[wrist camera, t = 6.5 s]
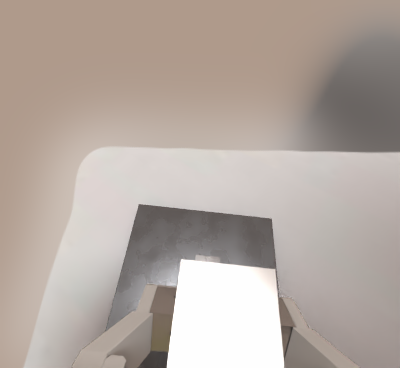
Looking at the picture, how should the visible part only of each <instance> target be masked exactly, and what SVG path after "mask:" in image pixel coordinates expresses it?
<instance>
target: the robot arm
mask: <svg viewBox="0 0 400 368" xmlns="http://www.w3.org/2000/svg"><path fill="white" fill-rule="evenodd" d="M176 294H177V287H173V286H165V285H156V284H148V283H147V285H146V286H145V289H144V291H143V294H142V297H141V299H140V302H139V304H138V307H137V310H136V311H132V312H131V313H129V314H128V315H127V316H125V317H124V318H123V319H121V320H120V321H119V322H118V323H116V324H115V325H114V326H112V327H111V328H110V329H108V330H107V331H106V332H104V333H103V334H102V335H100V336H99V337H98V338H97V339H95V340H94V341H93V342H91V343H90V344H89V345H87V346H86V347H85V348H83V349H82V350H81V351H80V353H79V355H78V356H77V358H76V360H75V362H74V363H73V365H72V367H71V368H138V366H139V365H140V364H141V363H142V362H143V360H144V359H145V358H146V357H147V355H148V354H149V353H150V351H165V352H169V348H170V340H171V332H172V325H173V317H174V309H175V302H176ZM278 304H279V315H280V326H281V337H282V348H283V359H284V366H285V368H360V367H359V366H357V365H356V364H355V363H354V362H353V361H351V360H350V359H349V358H348V357H346V356H345V355H344V354H343V353H341V352H340V351H339V350H338V349H336V348H335V347H334V346H333V345H332V344H330V343H329V342H328V341H327V340H325V339H324V338H323V337H322V336H320V335H319V334H318V333H317V332H315V331H314V330H313V329H309V327H308V326H307V324H306V322H305V320H304V318H303V317H302V315H301V313H300V311H299V309H298V307H297V306H296V304H295V302H294V300H293V299H292V298H284V297H280V298H279V297H278Z"/></svg>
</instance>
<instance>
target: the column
mask: <svg viewBox="0 0 400 368" xmlns="http://www.w3.org/2000/svg"><path fill="white" fill-rule="evenodd" d="M167 368H284V359H283V348H282V337H281V326H280V315H279V304H278V294H277V283H276V272H275V269H268V268H259V267H249V266H240V265H231V264H221V263H212V262H203V261H193V260H184V259H181V263H180V271H179V279H178V286H177V294H176V302H175V309H174V317H173V325H172V332H171V340H170V348H169V355H168V363H167Z"/></svg>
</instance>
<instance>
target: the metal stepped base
mask: <svg viewBox="0 0 400 368" xmlns="http://www.w3.org/2000/svg"><path fill="white" fill-rule="evenodd" d="M181 259H184V260H193V261H203V262H212V263H221V264H231V265H240V266H249V267H259V268H268V269H275V272H276V283H277V294H278V297H279V292H278V281H277V271H276V260H275V249H274V239H273V228H272V219H269V218H260V217H251V216H242V215H233V214H223V213H214V212H205V211H196V210H187V209H178V208H169V207H160V206H151V205H141V204H139V206H138V210H137V214H136V217H135V221H134V225H133V229H132V232H131V236H130V240H129V244H128V247H127V251H126V255H125V259H124V263H123V266H122V270H121V274H120V278H119V281H118V285H117V289H116V293H115V296H114V300H113V304H112V308H111V311H110V315H109V319H108V323H107V327H106V330H105V332H106V331H107V330H108V329H110V328H111V327H112V326H114V325H115V324H116V323H118V322H119V321H120V320H121V319H123V318H124V317H125V316H127V315H128V314H129V313H131V312H132V311H136V310H137V307H138V304H139V302H140V299H141V297H142V294H143V291H144V289H145V286H146V285H147V283H148V284H156V285H165V286H173V287H177V286H178V279H179V271H180V263H181ZM168 355H169V352H165V351H150V353H149V354H148V355H147V357H146V358H145V359H144V360H143V362H142V363H141V364H140V365H139V366H138V368H167V363H168ZM284 368H285V366H284Z"/></svg>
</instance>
